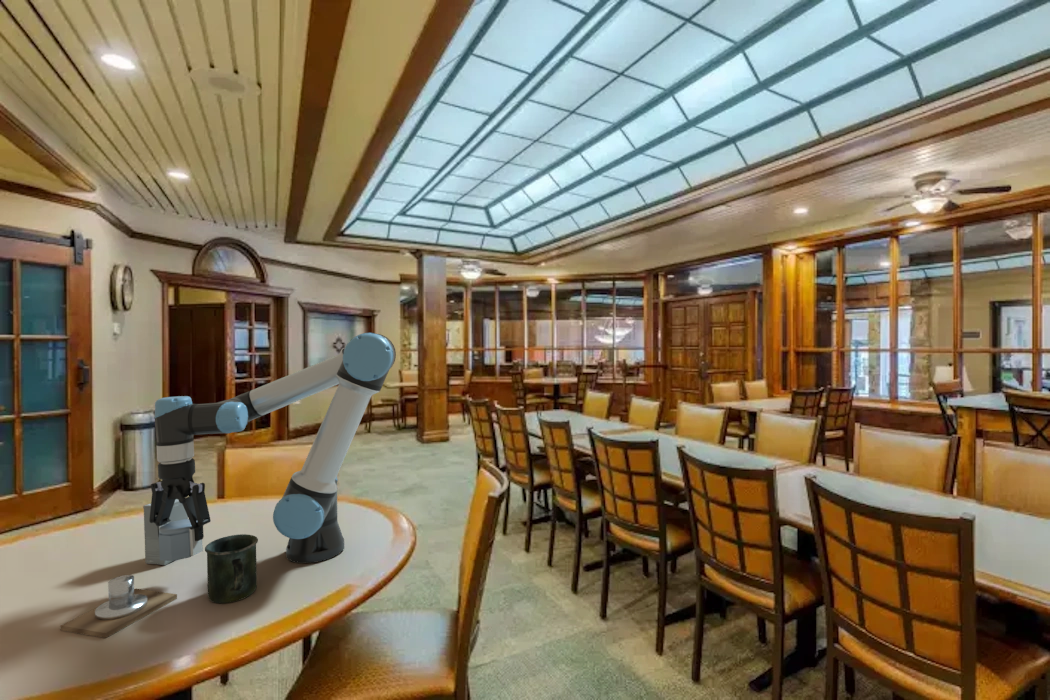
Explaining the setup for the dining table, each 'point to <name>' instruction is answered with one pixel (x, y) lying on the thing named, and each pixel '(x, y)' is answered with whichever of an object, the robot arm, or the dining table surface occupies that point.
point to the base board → (108, 627)
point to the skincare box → (152, 532)
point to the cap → (175, 540)
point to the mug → (231, 568)
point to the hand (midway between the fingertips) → (181, 551)
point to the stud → (121, 599)
